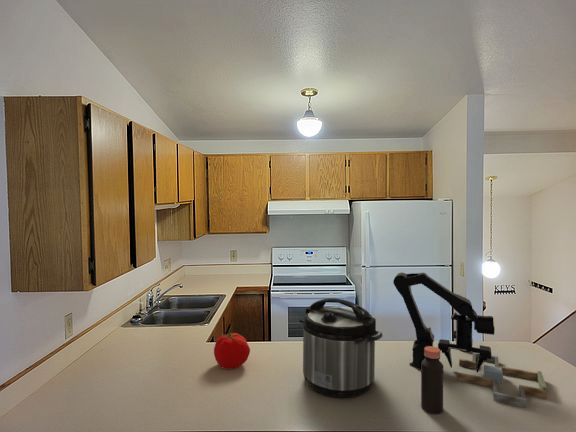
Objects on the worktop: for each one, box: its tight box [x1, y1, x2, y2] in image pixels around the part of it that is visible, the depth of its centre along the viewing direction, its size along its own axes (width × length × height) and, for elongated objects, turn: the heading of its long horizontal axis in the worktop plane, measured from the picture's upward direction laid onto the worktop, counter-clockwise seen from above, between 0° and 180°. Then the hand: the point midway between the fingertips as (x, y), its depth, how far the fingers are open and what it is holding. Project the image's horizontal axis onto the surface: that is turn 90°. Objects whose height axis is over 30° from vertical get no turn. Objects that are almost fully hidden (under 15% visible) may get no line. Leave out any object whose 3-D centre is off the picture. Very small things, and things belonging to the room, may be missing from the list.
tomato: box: [213, 332, 251, 370], centre depth 150 cm, size 16×14×14 cm
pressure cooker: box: [299, 297, 383, 398], centre depth 136 cm, size 30×28×32 cm
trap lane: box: [456, 352, 548, 409], centre depth 135 cm, size 28×34×4 cm
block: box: [483, 364, 504, 384], centre depth 136 cm, size 6×5×4 cm
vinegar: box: [420, 345, 444, 415], centre depth 117 cm, size 7×7×20 cm
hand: (464, 369), depth 141 cm, fingers open, 9 cm apart
